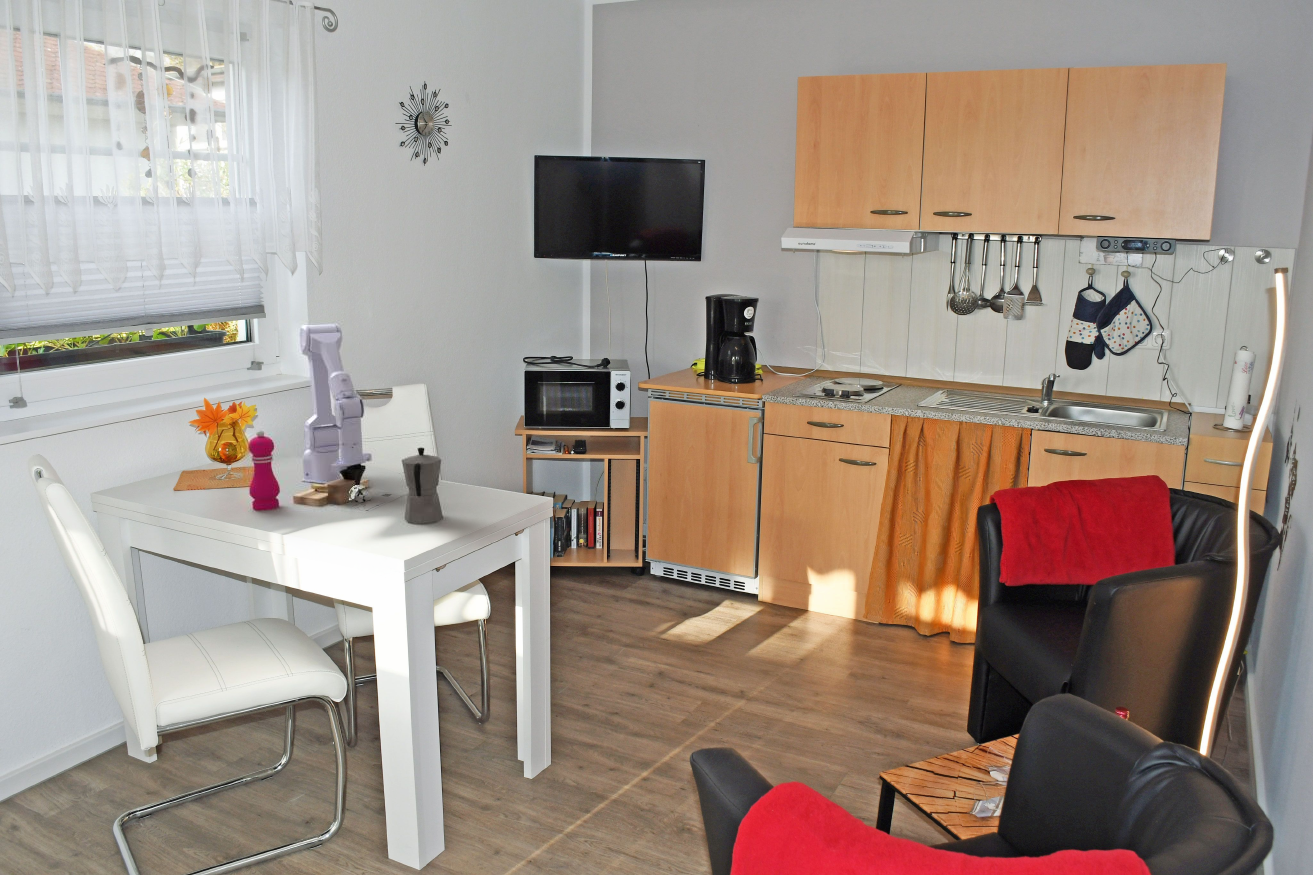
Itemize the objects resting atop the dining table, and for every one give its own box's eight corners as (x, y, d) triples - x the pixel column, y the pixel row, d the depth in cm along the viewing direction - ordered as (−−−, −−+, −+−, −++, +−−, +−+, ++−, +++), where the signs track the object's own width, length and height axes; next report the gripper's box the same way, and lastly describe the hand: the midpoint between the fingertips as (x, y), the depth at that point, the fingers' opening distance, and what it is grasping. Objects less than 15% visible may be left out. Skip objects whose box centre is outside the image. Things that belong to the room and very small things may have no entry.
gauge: (305, 500, 255) (304, 481, 254) (320, 494, 260) (319, 476, 259) (341, 504, 251) (340, 485, 250) (355, 498, 257) (354, 480, 256)
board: (293, 503, 252) (292, 495, 252) (344, 483, 272) (344, 476, 271) (319, 506, 250) (318, 498, 249) (369, 486, 269) (368, 479, 269)
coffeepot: (408, 511, 246) (405, 441, 242) (446, 511, 247) (443, 441, 243) (398, 530, 231) (395, 456, 227) (439, 529, 232) (436, 455, 228)
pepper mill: (270, 512, 244) (264, 433, 240) (244, 510, 246) (238, 432, 242) (286, 504, 251) (281, 428, 247) (261, 502, 253) (255, 426, 249)
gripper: (346, 449, 248) (349, 501, 251) (380, 438, 262) (382, 487, 264) (323, 447, 250) (326, 498, 253) (357, 436, 264) (360, 485, 267)
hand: (353, 492), depth 259 cm, fingers closed
